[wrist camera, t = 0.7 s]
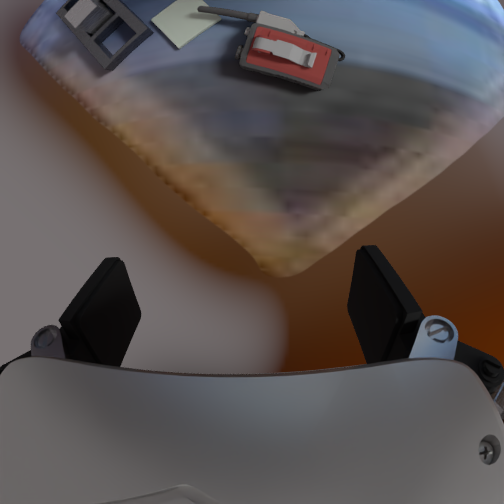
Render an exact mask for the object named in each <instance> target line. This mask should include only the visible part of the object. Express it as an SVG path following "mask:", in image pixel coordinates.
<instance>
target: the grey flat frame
mask: <svg viewBox="0 0 504 504" xmlns="http://www.w3.org/2000/svg"><path fill="white" fill-rule="evenodd" d="M78 1H79V0H68V1H67V2H66V3H65V4H64V5H63V6H62V7H61V8H60V9H59V10H58V12H57V13H56V14H57V15H58V16H59V17H60V18H61V19H62V21H63V22H64V23H65V24H66V25H67V26H68V27H69V29H70V30H71V31H72V32H73V33H74V34H75V35H76V37H77V38H78V39H79V40H80V41H81V42H82V44H83V45H84V46H85V47H86V48H87V49H88V51H89V52H90V53H91V54H92V55H93V56H94V57H95V59H96V60H97V61H98V62H99V63H100V64H101V66H102V67H103V68H104V69H107V70H112V71H113V70H114V69H115V68H116V67H117V66H118V65H119V64H120V63H121V62H122V61H123V60H124V59H125V58H126V57H127V56H128V55H129V54H130V53H131V52H132V51H133V50H134V49H136V48H137V47H138V46H139V45H140V44H141V43H142V42H143V41H145V40H146V39H147V38H148V37H149V36H150V35H152V34H153V33H154V32H153V31H152V30H151V29H150V28H149V27H148V26H147V25H146V24H145V23H144V22H143V21H142V20H141V19H140V18H139V17H138V16H137V15H135V14H134V13H133V12H132V11H131V10H130V9H129V8H128V7H127V6H126V5H125V4H124V3H123V2H122V1H121V0H97V1H99V2H100V3H102V4H104V5H108V6H109V7H111V8H112V9H113V10H114V11H115V12H116V14H115V15H114V16H112V17H111V18H110V19H109V20H108V21H107V22H106V23H105V24H104V25H103V26H102V27H101V28H100V29H99V30H98V31H97V32H96V33H95V34H92V33H88V32H85V31H82V30H79V29H76V28H74V26H73V25H72V24H71V23H70V22H69V21H68V20H67V19H66V17H65V15H66V14H67V12H68V11H69V10H70V9H71V8H72V7H73V6H74V5H75V4H76V3H77V2H78ZM124 21H125V22H126V23H127V24H128V25H129V26H130V27H131V28H132V29H133V30H134V31H135V32H136V33H137V34H135V35H134V36H133V37H132V38H131V39H130V40H129V41H128V42H127V43H126V44H125V45H123V46H122V47H121V48H120V49H119V50H118V51H117V52H116V53H115V54H114V55H112V54H111V53H110V52H109V51H108V49H107V48H106V47H105V46H104V45H103V44H102V42H103V41H104V40H105V39H106V38H107V37H108V36H109V35H110V34H111V33H112V32H113V31H114V30H115V29H117V28H118V27H119V26H120V25H121V24H122V23H123V22H124Z"/></svg>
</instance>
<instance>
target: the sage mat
mask: <svg viewBox="0 0 504 504" xmlns="http://www.w3.org/2000/svg"><path fill="white" fill-rule="evenodd" d="M199 6H208V5H207V4H206V3H205V2H204V1H203V0H177V1H175V2H174V3H172V4H171V5H170V6H168V7H167V8H166V9H164V10H163V11H162V12H160V13H159V14H158V15H156V16H155V17H154V18H153V19H151V21H152V22H153V23H154V24H155V25H156V26H157V27H158V28H159V29H160V30H161V31H162V32H163V33H164V34H165V35H166V36H167V37H168V38H169V39H170V40H171V41H172V42H173V43H174V44H175V45H176V46H177V47H178V48H179V49H181V48H182V47H183V46H185V45H186V44H187V43H189V42H190V41H191V40H193V39H194V38H195V37H197V36H198V35H200V34H201V33H202V32H204V31H205V30H207V29H208V28H210V27H211V26H213V25H214V24H216V23H217V22H219V21H220V20H222V19H221V17H220V16H218V15H217V14H210V13H203V12H198V10H197V8H198V7H199ZM208 7H209V6H208Z"/></svg>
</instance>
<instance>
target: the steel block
mask: <svg viewBox="0 0 504 504" xmlns="http://www.w3.org/2000/svg"><path fill="white" fill-rule="evenodd" d="M114 15H115V13H114V12H113V11H112V10H111V9H110V8H109V7H108V6H106V5H104V4H102V3H100V2H99V1H97V0H79V1H78V2H77V3H76V4H75V5H74V6H73V7H72V8H71V9H70V10H69V11H68V12H67V14H66V15H65V17H66V19H67V20H68V21H69V22H70V23H71V24H72V25H73V26H74V28H76V29H79V30H82V31H85V32H88V33H92V34H95V33H96V32H97V31H98V30H99V29H100V28H101V27H102V26H103V25H104V24H105V23H106V22H107V21H108V20H109V19H110V18H111V17H112V16H114Z"/></svg>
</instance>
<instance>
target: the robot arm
mask: <svg viewBox="0 0 504 504" xmlns="http://www.w3.org/2000/svg"><path fill="white" fill-rule="evenodd" d="M347 307H348V313H349V316H350V318H351V321H352V323H353V326H354V329H355V332H356V334H357V337H358V340H359V342H360V345H361V348H362V351H363V354H364V356H365V360H366V362H367V364H364V365H356V366H349V367H340V368H331V369H323V370H313V371H300V372H285V373H264V374H199V373H178V372H164V371H151V370H141V369H132V368H124V367H120V366H121V363H122V361H123V358H124V356H125V354H126V351H127V349H128V346H129V344H130V341H131V339H132V337H133V335H134V332H135V330H136V328H137V325H138V323H139V321H140V319H141V310H140V307H139V305H138V302H137V299H136V296H135V294H134V291H133V288H132V285H131V282H130V279H129V276H128V273H127V270H126V267H125V264H124V262H123V261H121V260H120V258H118V257H111V258H105V259H104V260H103V261H102V263H101V264H100V265H99V266H98V268H97V269H96V270H95V272H94V273H93V274H92V275H91V276H90V278H89V279H88V280H87V281H86V283H85V284H84V285H83V287H82V288H81V289H80V291H79V292H78V293H77V295H76V296H75V298H74V299H73V300H72V302H71V303H70V304H69V306H68V307H67V309H66V310H65V311H64V313H63V314H62V316H61V317H60V319H59V322H60V323H61V326H62V327H61V328H60V329H59V328H58V327H57V326H55V325H48V326H45V327H43V328H41V329H40V330H39V331H37V332H36V333H35V335H34V336H33V338H32V340H31V350H30V351H28V352H26V353H25V354H23V355H21V356H19V357H17V358H15V359H13V360H12V361H10V362H8V363H6V364H4V365H2V366H1V367H0V504H504V369H503V367H502V365H501V363H500V362H499V361H498V360H497V359H496V358H495V357H493V356H491V355H489V354H486V353H484V352H482V351H480V350H478V349H475V348H473V347H471V346H468V345H466V344H464V343H462V342H460V341H457V340H458V332H457V329H456V328H455V326H454V325H453V323H451V322H450V321H449V320H448V319H445V318H443V317H440V316H429V317H426V318H425V316H424V314H423V313H422V310H421V308H420V307H419V305H418V303H417V302H416V301H415V299H414V297H413V296H412V295H411V293H410V291H409V290H408V289H407V287H406V286H405V284H404V283H403V281H402V280H401V278H400V277H399V276H398V274H397V273H396V271H395V270H394V269H393V267H392V266H391V264H390V263H389V262H388V260H387V259H386V258H385V256H384V255H383V254H382V252H381V251H380V250H379V248H378V247H377V246H376V245H368V246H362V247H361V249H360V250H357V252H356V257H355V263H354V270H353V276H352V282H351V288H350V293H349V298H348V304H347Z"/></svg>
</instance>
